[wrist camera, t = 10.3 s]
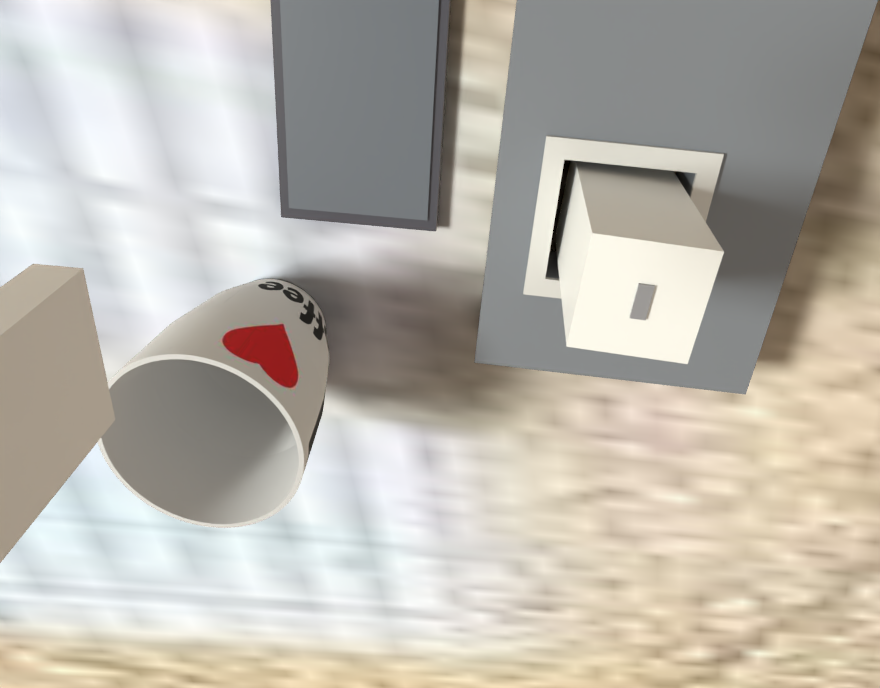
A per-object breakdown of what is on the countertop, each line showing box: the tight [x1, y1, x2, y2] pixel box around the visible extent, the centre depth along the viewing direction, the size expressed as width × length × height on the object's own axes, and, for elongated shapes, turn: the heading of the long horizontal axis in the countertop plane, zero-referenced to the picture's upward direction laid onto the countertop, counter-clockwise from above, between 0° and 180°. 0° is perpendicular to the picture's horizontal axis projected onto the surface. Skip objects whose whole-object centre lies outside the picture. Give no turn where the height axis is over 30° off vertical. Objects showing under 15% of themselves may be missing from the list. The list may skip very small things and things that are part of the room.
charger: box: [555, 160, 724, 364], centre depth 28 cm, size 4×4×10 cm
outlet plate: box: [474, 0, 878, 394], centre depth 30 cm, size 18×12×3 cm, turn 176°
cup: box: [98, 279, 329, 528], centre depth 32 cm, size 8×8×10 cm
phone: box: [271, 0, 451, 231], centre depth 30 cm, size 14×7×1 cm, turn 177°
